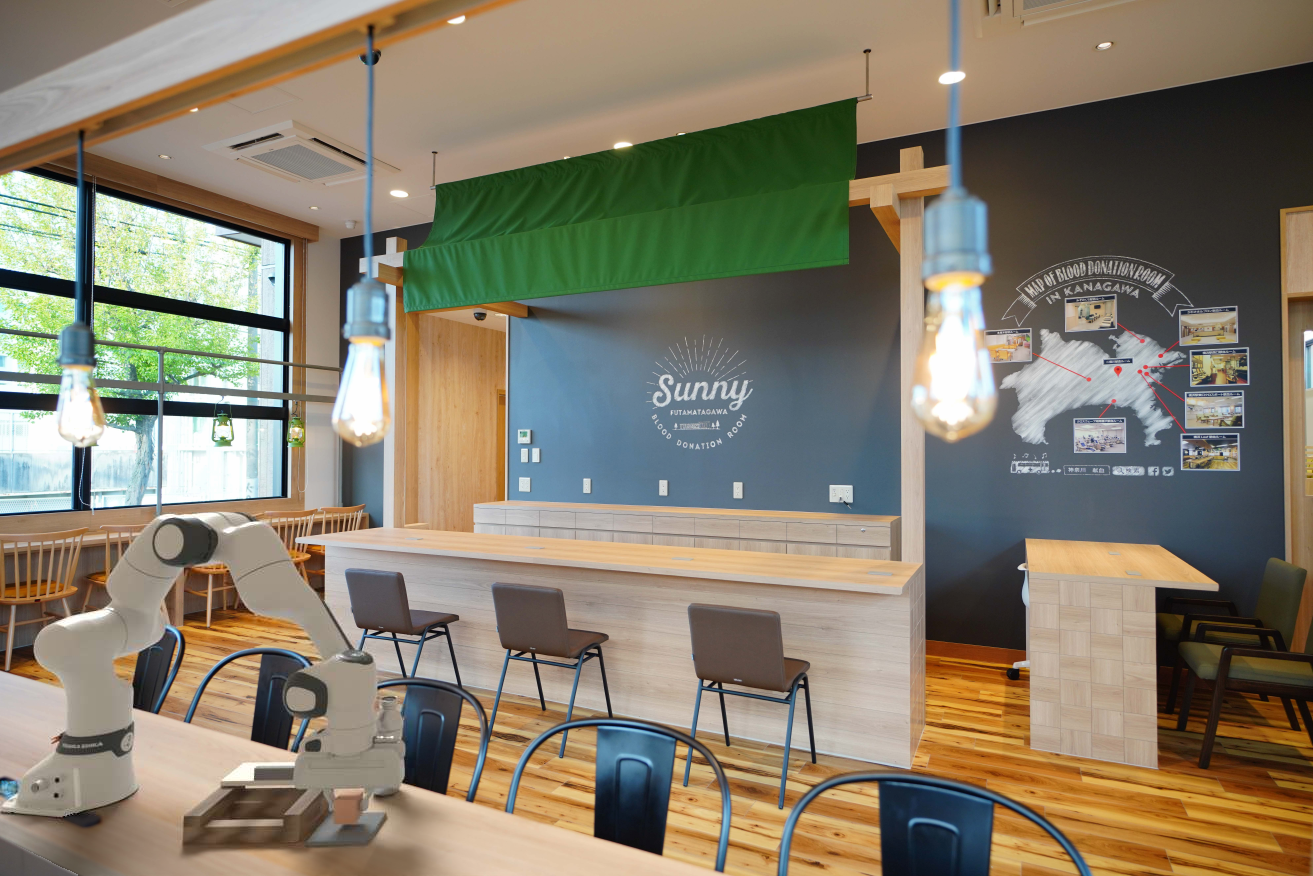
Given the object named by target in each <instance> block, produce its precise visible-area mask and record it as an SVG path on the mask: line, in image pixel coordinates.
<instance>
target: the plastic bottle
mask: <svg viewBox="0 0 1313 876" xmlns="http://www.w3.org/2000/svg"><path fill="white" fill-rule="evenodd" d="M378 706H379V708H378V709H379V711H378V712H377V714H376V737H398V739H401V740H402V734H403V728H404V719H403V718H404V717H403V716H402V714H401V713H400V712H399V710H398V709H397V708H398V706H399V704H398V697H397V696H395V695H386V696H383V697H381V698H380V699H379V705H378ZM398 742H399V741H398ZM401 786H402V782H401V783H400V785H399V786H398V787H396V788H375V790H374V791H373V793H372V794H374V795H376V796H378V797H379V796H381V797H383V796H390V795H393V794H395V793H397V792H398V791H399V790H400V788H401Z"/></svg>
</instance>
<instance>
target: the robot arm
mask: <svg viewBox="0 0 1313 876" xmlns="http://www.w3.org/2000/svg"><path fill="white" fill-rule="evenodd" d="M220 564H221V565H222V564H223V565H225V566H226V568H227V569H228V571H229V573H230V577H232V580H233V584H234V586H235V588H236V590H237V593H238V596H239V598H240V599H241V601H242V603H243V604H244V606H245V607H246V608H247V609H248V611H250V612H252V613H254V615H257V616H261V617H264V618H271V619H277V620H283V621H288V622H290V623H293V624H295V625H297V626H298V627H300V628H302V629H303V631H305V633H306V634H307V636H308V638H309V639H310V641H311V643H312V645H313V646H314V648H315V649H316V651H317V653H318V654H319V656H320V658H321V659H322V660H321V661H322V662H319V663H316V664H313V665H311V666H306V667H303V668H302V669H299V670H298V671H296V672H294V673H292V674H290V675H289V677H288V678H287V680H286V681H285V682H284V685H283V689H282V702H283V705H284V708H285V709H286V712H288V713H289V714H290V715H291V716H292V717H293V718H296V719H299V720H312V719H318V718H325V719H326V726H324V727H321V728H317V729H315V730H313V731H312V732H310V733H309V734H307V735H306V736H305V737H304V738H303V739H302V740H301V741H300V743H299V745H298V747H299V748H298V749H299V752H300V753H299V754H298V755H297V756H296V759H295V761H294V762H295V766H294V774H293V784H294V785H293V786H294V788H297V789H323V795H324V796H325V798H326V800H327V801H328V803H329V807H328V811H329V812H334V800H335V799H336V798H337V796H335V793H333V790H334V791H335V790H337V789H338V790H340V789H341V790H343V789H345V790H346V789H347V790H348V789H352V790H353V789H356V790H357V789H363V794H364V795H365V794H366V795H365V797H363V798H361V799H360V801H359V802H358V811H363V812H367V810H368V808H369V804H370V803H369V802H370V801H369V800H370V798H371V796H372V795H373V794H374V793H373V791H374V790H375V788H396V787H398V786H399V785H400V783H401V784H402V782H403V780H404V779H405V775H406V774H405V772H406V769H405V768H406V767H405V759H404V758H405V756H406V743H405V741H404V740H402V738H401V739H398V737H376V716H377V714H376V710H375V705H376V704H375V703H376V701H377V697H378V673H377V672H378V671H377V665H376V661H375V659H374V656H373V655H372V654H370V653H369V652H367V651H364V650H362V649H361V650H360V649H355V647H354V646H353V645H352V644H351V641H349V639H348V637H347V635H346V634H345V632H344V631H343V629H342V627H341V625H340V624H339V622H338V620H337V619H336V617H335V615H334V614H333V612H332V611H331V609H330V608H329V606H328V604H327V603H326V602H325V600H324V598H323V597H322V596H321V595H320V594H319V592H317V591H316V590H315V589H313V588H312V587H311V585H309V584H308V583H307V582H306V581H305V579H304V578H303V576H301V574H300V573H299V570H298V568H297V566H295V563H294V561H293V558H292V557H291V555H290V552H289V550H288V549H287V546H286V545H285V543H284V542H283V539H281V537H280V536H279V534H278V533H277V532H276V530H275V529H274V527H273V526H271V525H270V524H268V523H267V522H264V521H260V520H259V519H258V518H257V517H255V516H254V515H251V514H248V513H246V512H245V513H244V512H239V511H235V512H228V511H209V512H201V513H193V514H189V513H184V514H174V513H165V514H162V515H159V516H157V517H155V518H154V519H152V520H151V521H150V522H149V523H148V524H147V525H146V526H145V527H144V528H143V529H142V530H141V531H140V533H138V535H137V536H136V537H135V538H134V539H133V541H132V542H131V544H129V546H128V548H127V549H126V550H125V552H124V554H123V555H122V556H121V558H120V559H119V560H118V562H117V564H116V565H115V567H114V568H113V569H112V571H111V572H110V574H109V575H108V577H107V579H106V581H105V587H106V591H107V593H108V595H109V597H110V598H111V599H112V600H111V602H109V603H108V605H106V606H105V607H104V608H102V609H101V608H100V609H98V610H95V611H89V612H88V611H87V612H84V613H80V614H78V613H77V614H75V615H70V616H67V617H65V618H62V619H60V620H57V621H55V622H53V623H51V624H48V625H46V626H45V627H43V628H42V629H41V630H40V631H39V632H38V634H37V636H36V638H35V640H34V644H33V654H34V657H35V660H36V661H37V663H38V665H39V666H40V667H42V668H43V669H45V670H46V671H49V672H50V673H53V674H54V675H55V676H56V677H57V678H58V680H59V681H60V683H61V684H62V688H63V689H64V690H63V691H64V693H65V698H66V701H65V702H66V720H65V721H66V723H65V724H66V726H65V730H64V731H63V732H61V733H60V734H58V735H57V736H55V737H52V738H51V741H52V742H51V745H54V744H55V743H58V744H57V746H56V748H55V750H54V751H53V752H52V753H50V754H49V755H48V756H46V757H45V758H43V759H42V760H41V761H39V762H37V764H35V765H34V766H32V767H31V768H30V769H29V770H27V771H26V772H25V773H24V775H23V776H22V778H21V780H20V783H19V787H18V790H17V793H16V794H14V795H12V796H11V797H10V798H8V799H6V800H5V802H3V804H2V805H1V810H0V811H1V812H3V813H11V812H14V814H23V815H35V816H45V817H46V816H47V817H58V818H64V817H63V816H65V817H68V816H67V815H69V816H71V815H70V814H72V815H74V814H73V813H75V814H78V813H80V812H83V811H88V810H91V809H95V808H100V807H105V806H108V805H110V804H114V803H116V802H118V801H120V800H123V799H125V798H127V797H130V796H131V795H132V794H134V793H135V792H136V791H137V790H138V788H139V783H138V781H137V778H136V774H135V768H134V761H133V746H134V740H135V722H134V720H133V709H134V708H133V707H134V687H133V685H132V683H131V682H130V681H128V680H127V679H125V678H122V677H119V676H118V675H117V673H116V670H115V667H114V661H115V660H116V659H119V658H123V657H127V656H130V655H134V654H137V653H140V652H141V651H144V650H145V649H147V648H149V647H151V646H153V645H155V644H156V643H158V642H160V640H162V638H163V636H164V634H165V633H166V629H167V620H166V616H165V614H164V612H163V611H162V609H161V608H162V604H163V602H164V600H165V599H166V597H167V596H168V595H167V594H168V593H169V592H170V590H171V589H172V587H173V586H174V584H175V582H176V580H177V579H178V578H179V576H180V575H181V573H182V572H183V570H184V568H192V567H208V566H215V565H220ZM398 741H399V742H398Z"/></svg>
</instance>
